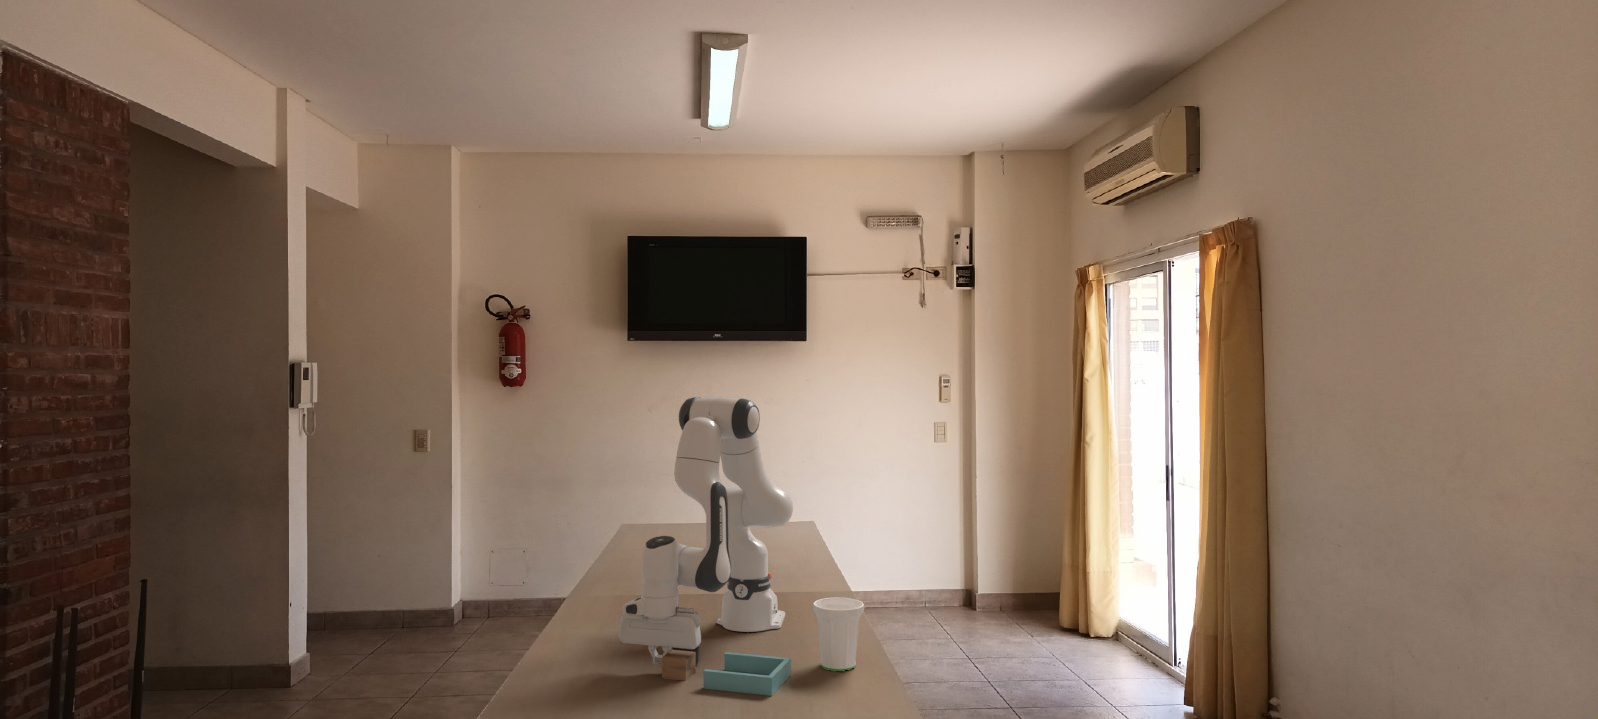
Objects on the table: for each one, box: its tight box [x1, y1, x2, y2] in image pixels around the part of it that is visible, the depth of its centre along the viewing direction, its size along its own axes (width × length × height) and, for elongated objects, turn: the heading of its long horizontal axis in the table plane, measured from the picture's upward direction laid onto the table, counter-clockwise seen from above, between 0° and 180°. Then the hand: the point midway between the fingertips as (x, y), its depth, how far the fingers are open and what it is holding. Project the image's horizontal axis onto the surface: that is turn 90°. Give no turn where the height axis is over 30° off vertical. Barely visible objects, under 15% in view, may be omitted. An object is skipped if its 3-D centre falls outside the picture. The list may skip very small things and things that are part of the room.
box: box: [702, 651, 792, 697], centre depth 214 cm, size 14×16×4 cm
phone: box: [670, 645, 701, 667], centre depth 231 cm, size 8×1×15 cm
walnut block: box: [661, 650, 697, 681], centre depth 218 cm, size 6×6×5 cm
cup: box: [812, 596, 865, 672], centre depth 225 cm, size 12×12×15 cm
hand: (659, 663), depth 220 cm, fingers closed
